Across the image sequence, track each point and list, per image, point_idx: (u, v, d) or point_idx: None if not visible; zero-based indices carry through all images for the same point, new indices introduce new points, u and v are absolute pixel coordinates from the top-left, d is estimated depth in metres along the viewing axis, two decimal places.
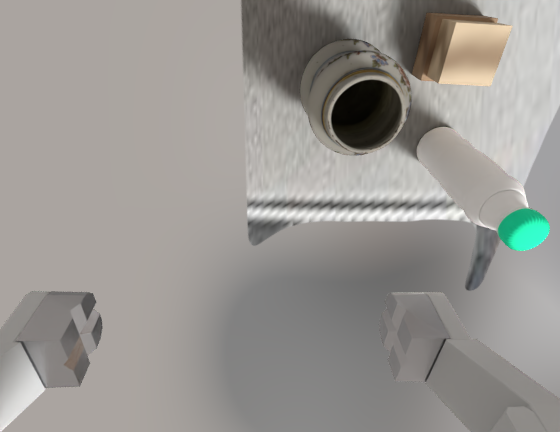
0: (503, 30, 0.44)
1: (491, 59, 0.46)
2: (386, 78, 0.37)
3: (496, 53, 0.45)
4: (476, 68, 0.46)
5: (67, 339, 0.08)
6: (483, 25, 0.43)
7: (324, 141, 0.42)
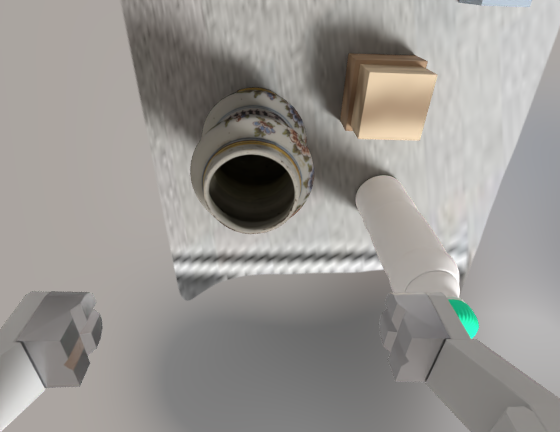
0: (427, 80, 0.37)
1: (417, 111, 0.39)
2: (267, 153, 0.30)
3: (422, 105, 0.38)
4: (400, 121, 0.39)
5: (67, 339, 0.08)
6: (402, 74, 0.37)
7: None
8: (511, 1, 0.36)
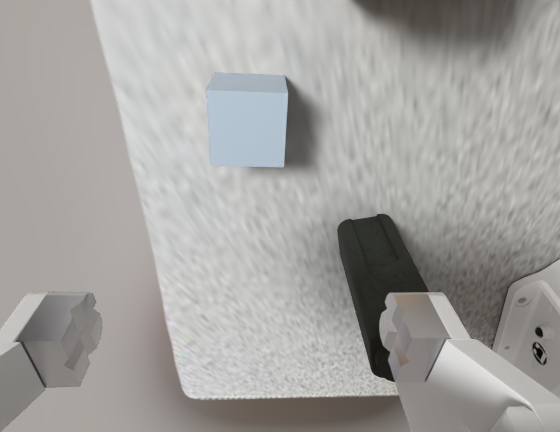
0: None
1: None
2: None
3: None
4: None
5: (67, 339, 0.08)
6: None
7: None
8: (239, 98, 0.22)
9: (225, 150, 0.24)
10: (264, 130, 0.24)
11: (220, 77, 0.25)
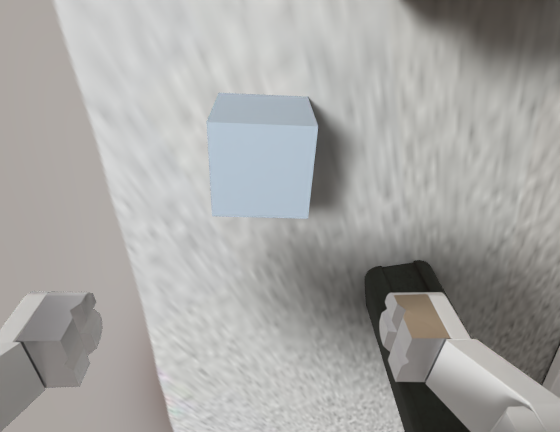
0: None
1: None
2: None
3: None
4: None
5: (67, 339, 0.08)
6: None
7: None
8: (252, 132, 0.17)
9: (232, 198, 0.18)
10: (284, 173, 0.18)
11: (225, 100, 0.19)
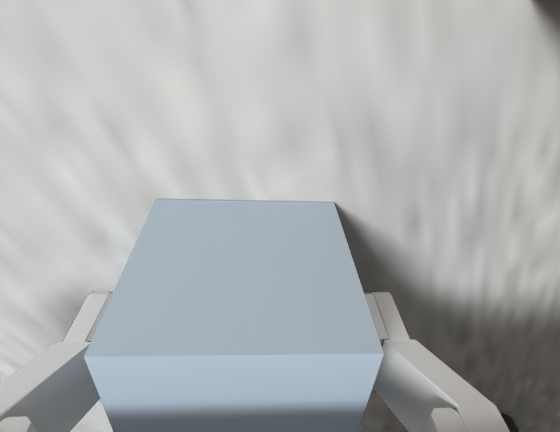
0: None
1: None
2: None
3: None
4: None
5: None
6: None
7: None
8: (211, 369, 0.06)
9: None
10: (293, 427, 0.07)
11: (163, 231, 0.09)
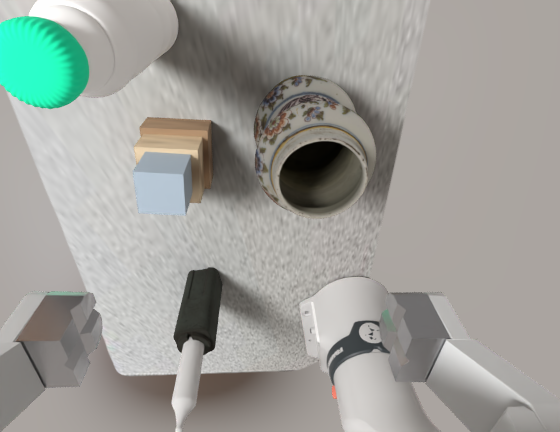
0: None
1: None
2: (302, 216, 0.35)
3: None
4: None
5: (67, 339, 0.08)
6: None
7: (362, 130, 0.33)
8: (153, 176, 0.37)
9: (147, 205, 0.39)
10: (171, 194, 0.38)
11: (146, 157, 0.40)
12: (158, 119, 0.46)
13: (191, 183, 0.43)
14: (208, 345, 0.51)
